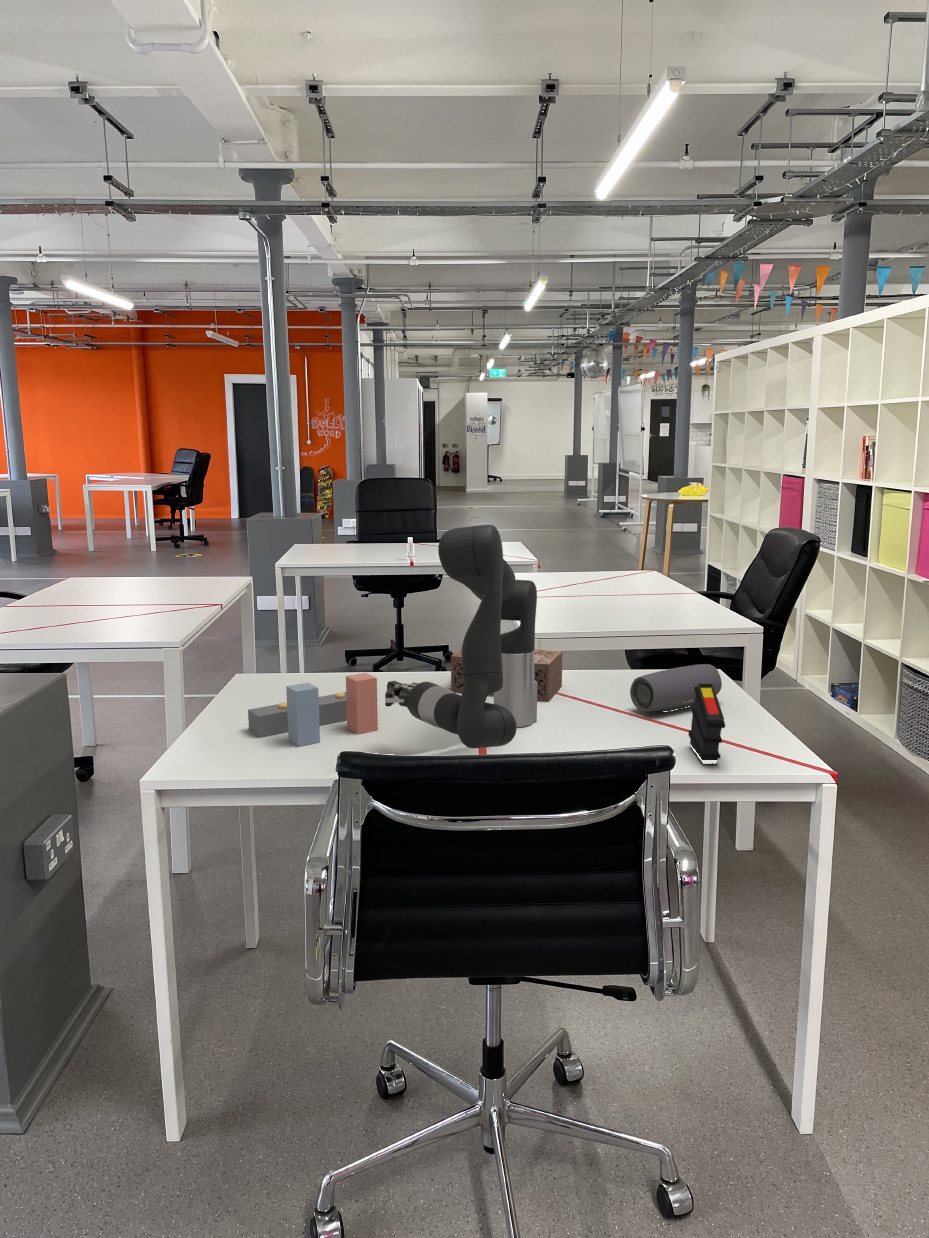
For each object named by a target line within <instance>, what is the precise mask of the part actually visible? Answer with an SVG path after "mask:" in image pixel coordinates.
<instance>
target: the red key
mask: <svg viewBox="0 0 929 1238" xmlns="http://www.w3.org/2000/svg"><path fill="white" fill-rule="evenodd" d="M345 692H346V705H347V721H346V727H347V729H348V730H349V731H351V732H353V733H355V734H356V735H361V734H366V733H372V732H375V731H379V722H378V677H376V676H374V675H372V674H370V673H367V672H362V673H357V674H350V675H345Z"/></svg>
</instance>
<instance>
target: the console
mask: <svg viewBox="0 0 929 1238" xmlns="http://www.w3.org/2000/svg"><path fill="white" fill-rule="evenodd" d="M247 715H248V716H247V718H248V720H247V721H248V732H250V733H251V734H252V735H255V736H256V737H257V738H259V739H262V738H266V737H273V736H276V735H277V736H278V735H281V734H288V717H287V702H280V703H278V704H273V705H265V706H261V707H256V708H250V709H247ZM343 722H347V705H346V691H345V692H336V693H333V694H328V695H322V696H319V725H320V727H322V726H327V725H332V724H337V723H343Z"/></svg>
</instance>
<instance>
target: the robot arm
mask: <svg viewBox="0 0 929 1238" xmlns="http://www.w3.org/2000/svg"><path fill="white" fill-rule="evenodd" d="M501 538H502V537H501V534H500V532H499V530H498V528H497V527H496V526H495V525H493V524H481V525H480V524H479V525H472V526H463V527H456V528H450V529H449V530H446V531H444V533H443V534H442V535H441V537H440V539H439V541H438V549H437V550H438V558H439V562H440V564H441V567H442V569H443V571H444V572H445V574H446V575H447V576H448V577H449V578H450V579H452V580H454V581H456V582H458V583H460V584H462V585H463V586H465V587H466V588H468V590H470V591H471V592H472V594H473V595H475V596H476V597H477V599H479V600H480V603H479V605H478V607H477V610H476V612H475V614H474V616H473V618H472V620H471V622H470V623H469V626H468V628H467V630H466V632H465V635H464V636H463V637H464V638H463V640H462V645H461V649H462V665H463V675H464V676H463V679H464V685H463V691H462V694H461V695H460V694H459V693H454V692H453V691H451V689H448V688H446V687H444V686H441V685H440V684H437V683H434V682H431V681H421V682H411V683H406V682H404V683H401V682H400V681H399V682H398V681H396V680H390V681H387V684H386V691H385V694H384V697H385V698H384V700H385V701H384V702H385V703H384V704H385V707H391V706H392V705H395V703H397V704H398V705H399V706H400V707H404V708H405V707H406V708H407V710H408V711H409V713H410V714H411V715H412V717H414V718H415V719H417V720H420V721H422V722H424V723H427V724H428V725H431V726H433V727H435V728H439V729H441V730H444V731H446V732H449V733H451V734H452V735H453V734H454V735H458V738H459V741H461V743H462V745H463V746H465V747H466V748H468V749H485V748H494V747H495V748H496V747H503V746H506V745H507V744H509V743H511V742H512V741H513V739H514V738H515V736H516V734H517V729H518V728H524V727H528V726H531V725H532V724H533V723H534V722H537V719H538V701H537V681H535V680H534V649H536V648H535V646H536V645H535V641H536V638H535V637H536V619H537V617H536V616H537V603H538V592H537V586H536V584H535V582H534V581H533V580H530V579H529V580H527V579H516V575H515V572H514V569H512V567H511V566H510V564H509V563H508V562H507V561H506V560H505V559H504V551H503V550H504V549H503V542H502V539H501ZM501 621H515V622H516V621H518V622H520V623H519V626H518V627H517V628H515V629H513V630H510V631H507V632H504V633H501V628H502V627H501V626H502V625H501V624H502V622H501ZM491 693H494V697H493V703H491V702H486V701H487V698H488V697H489V696H488V695H489V694H491Z"/></svg>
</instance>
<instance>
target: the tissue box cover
mask: <svg viewBox="0 0 929 1238" xmlns="http://www.w3.org/2000/svg"><path fill="white" fill-rule="evenodd" d="M563 655H564V654H563V651H562V650H561V651H560V650H552V649H540V648H539V649H538V648H535V649H534V680H535V681H537V702H540V703H550V701H551V700H552V699H553V698H554V697H555V696H556V695H557V693H558V692H559V691H560V690H561V689H562V688H563ZM463 676H464V675H463V665H462V648H461V649H459V650H458V651H457V652H455V653H453V654H451V656H450V690H451V691H453V692H454V693H456V694H461V695H462V691H463V685H464V679H463ZM561 687H562V688H561ZM560 688H561V689H560ZM487 697H489V698H490V697H493V698H494V693H491V694H489V695H488V696H487Z"/></svg>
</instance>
